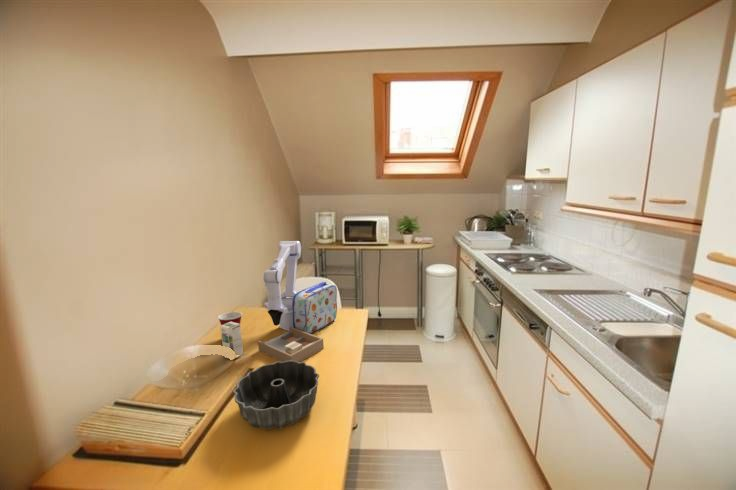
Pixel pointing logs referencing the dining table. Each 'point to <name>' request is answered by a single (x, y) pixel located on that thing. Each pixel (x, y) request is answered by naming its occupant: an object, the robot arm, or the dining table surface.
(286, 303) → the robot arm
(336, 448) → the dining table surface
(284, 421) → the bundt pan
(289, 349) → the ash block
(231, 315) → the plastic cup
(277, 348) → the divided box
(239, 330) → the syrup box
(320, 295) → the lunch box
